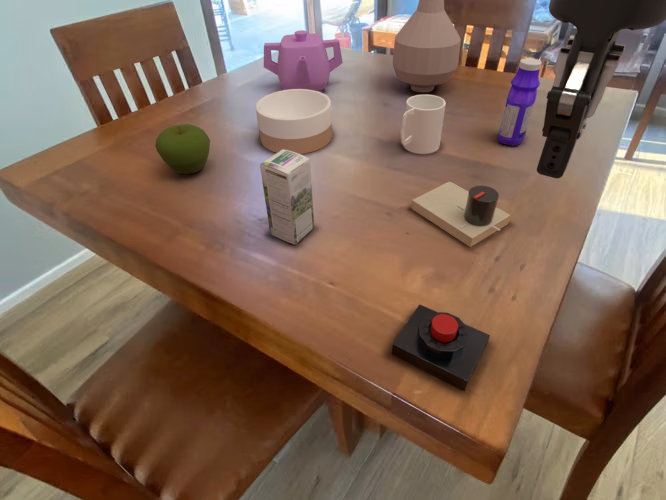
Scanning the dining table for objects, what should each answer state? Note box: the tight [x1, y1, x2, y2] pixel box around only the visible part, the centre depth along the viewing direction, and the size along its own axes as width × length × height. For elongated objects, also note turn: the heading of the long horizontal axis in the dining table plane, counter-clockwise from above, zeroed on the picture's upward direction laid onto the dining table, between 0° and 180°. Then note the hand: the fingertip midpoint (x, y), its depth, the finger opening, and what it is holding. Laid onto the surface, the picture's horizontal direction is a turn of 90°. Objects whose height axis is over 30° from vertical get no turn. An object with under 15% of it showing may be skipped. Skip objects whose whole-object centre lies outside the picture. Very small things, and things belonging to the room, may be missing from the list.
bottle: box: [497, 57, 542, 146], centre depth 93 cm, size 7×6×17 cm
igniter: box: [391, 304, 491, 391], centre depth 56 cm, size 10×8×4 cm
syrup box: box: [259, 149, 315, 246], centre depth 72 cm, size 6×6×14 cm
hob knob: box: [464, 185, 500, 226], centre depth 73 cm, size 5×5×5 cm
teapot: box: [263, 29, 344, 93], centre depth 122 cm, size 19×18×15 cm
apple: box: [154, 123, 211, 175], centre depth 90 cm, size 11×10×10 cm
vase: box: [392, 0, 462, 93], centre depth 113 cm, size 18×18×30 cm
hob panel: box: [411, 181, 512, 248], centre depth 77 cm, size 16×10×2 cm, turn 36°
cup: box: [399, 94, 447, 155], centre depth 94 cm, size 8×12×10 cm
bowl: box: [255, 89, 333, 155], centre depth 101 cm, size 17×17×8 cm
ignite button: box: [430, 314, 458, 343], centre depth 54 cm, size 3×3×2 cm
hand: (550, 172), depth 39 cm, fingers closed
